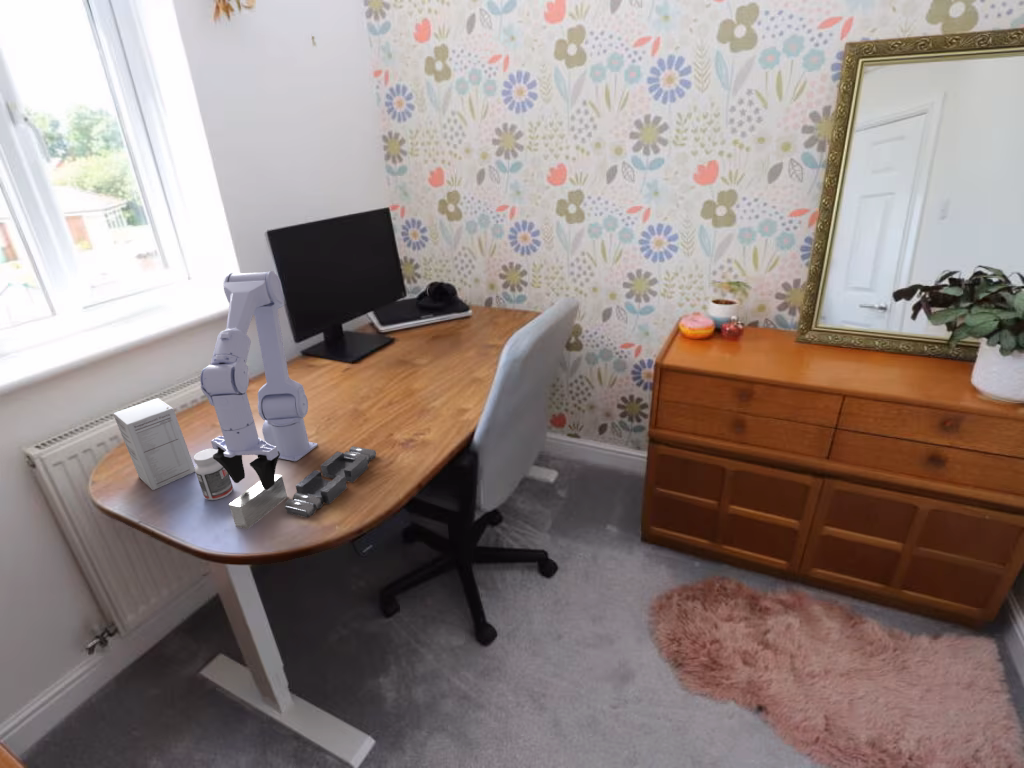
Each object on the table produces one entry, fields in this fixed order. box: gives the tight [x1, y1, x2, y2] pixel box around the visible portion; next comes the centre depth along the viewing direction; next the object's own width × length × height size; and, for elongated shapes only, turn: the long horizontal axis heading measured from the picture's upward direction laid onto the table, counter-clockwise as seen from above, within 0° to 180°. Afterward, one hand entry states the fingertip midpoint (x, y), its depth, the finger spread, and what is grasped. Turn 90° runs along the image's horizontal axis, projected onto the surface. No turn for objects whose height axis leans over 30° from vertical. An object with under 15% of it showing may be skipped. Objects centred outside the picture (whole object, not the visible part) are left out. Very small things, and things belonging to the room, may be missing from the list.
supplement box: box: [112, 397, 196, 491], centre depth 118 cm, size 10×9×17 cm
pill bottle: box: [193, 447, 234, 501], centre depth 112 cm, size 6×6×10 cm
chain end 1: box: [284, 469, 348, 519], centre depth 110 cm, size 8×11×3 cm
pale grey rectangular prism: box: [228, 473, 288, 530], centre depth 107 cm, size 3×11×6 cm, turn 160°
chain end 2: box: [319, 445, 377, 484], centre depth 121 cm, size 8×11×3 cm
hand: (254, 483), depth 105 cm, fingers open, 7 cm apart
